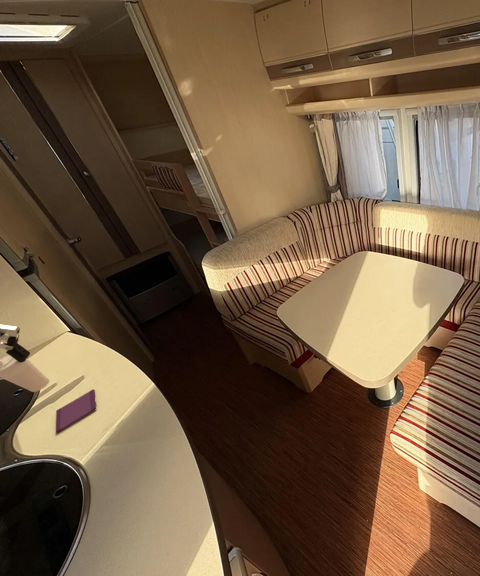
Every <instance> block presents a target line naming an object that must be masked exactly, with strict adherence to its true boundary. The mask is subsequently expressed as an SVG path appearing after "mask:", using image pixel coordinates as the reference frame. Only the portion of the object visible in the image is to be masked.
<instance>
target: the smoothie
mask: <svg viewBox="0 0 480 576" xmlns="http://www.w3.org/2000/svg"><path fill="white" fill-rule="evenodd" d="M0 378H1V379H2V380H5V381H8V382H10V383H12V384H14V385H16V386H18V387H20V388H22V389H25V390H28V391H29V392H32V393H37V392H39V391H41V390H43V389H44V388H46V387H47V386H48V385H49V383H50V379H49V378H47V376H46V375H45V374H44V373H43V372H42V371H40V369H39V368H38V367H37V366H35V364H33V363H32V362H31V361H30V360H29V358H27V359H26V360H25V362H22V363H21V362H18V361H17V360H16V359H14V358H13V357H11V356H10V355H8V354H7V355H5V356H3V357H2V358H0Z"/></svg>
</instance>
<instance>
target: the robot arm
mask: <svg viewBox="0 0 480 576" xmlns="http://www.w3.org/2000/svg"><path fill="white" fill-rule="evenodd" d="M20 331H21V328H20V327H19V326H15V325H7V324H0V349H1V350H5V351H6V354H7V355H10V356H11V357H13V358H14V359H16V360H17V361H18V362H21V363H22V362H25V360H26V359H29V356H30V355H31V352H30V351H29V350H27V349H26V348H25V347H24V346H22V345H21V344H19V341H20V340H19V337H20ZM6 334H7V335H6Z"/></svg>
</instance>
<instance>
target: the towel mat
mask: <svg viewBox="0 0 480 576" xmlns="http://www.w3.org/2000/svg"><path fill="white" fill-rule="evenodd" d="M95 397H96V390H95V389H94V388H92V389H91V390H89V391H88V392H86V393H84V394H82V395H81V396H79V397H78V398H75V399H74V400H72V401H70V402H69V403H67V404H65V405H63V406H61V407H60V408H58V409H57V410H55V411H56V412H55V433H56V434H59V433H60V432H63V431H64V430H66V429H67V428H69V427H71V426H72V425H74V424H75V423H77V422H78V421H80V420H81V418H82V419H84V418H85V417H87V416H88V415H90V414H92V413H93V412H95V411H96V410H95V409H96V407H97V401H96V402H95ZM94 410H95V411H94ZM92 411H93V412H92ZM91 412H92V413H91ZM89 413H90V414H89ZM86 415H87V416H86ZM84 416H85V417H84Z"/></svg>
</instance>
